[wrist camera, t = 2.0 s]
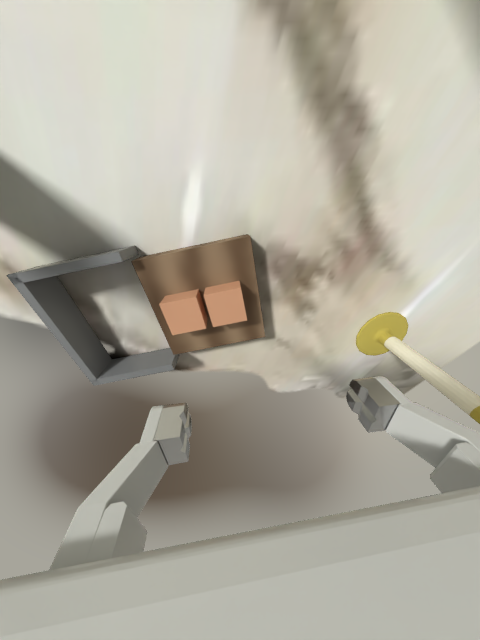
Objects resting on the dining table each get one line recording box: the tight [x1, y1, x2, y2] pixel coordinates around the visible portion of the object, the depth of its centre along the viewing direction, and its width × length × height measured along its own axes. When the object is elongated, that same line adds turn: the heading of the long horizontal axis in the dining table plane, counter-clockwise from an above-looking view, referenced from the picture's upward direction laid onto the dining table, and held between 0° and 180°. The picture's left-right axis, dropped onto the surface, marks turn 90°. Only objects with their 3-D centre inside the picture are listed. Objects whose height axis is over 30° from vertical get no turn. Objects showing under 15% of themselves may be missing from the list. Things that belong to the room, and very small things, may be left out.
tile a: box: [204, 281, 247, 327], centre depth 28 cm, size 5×5×3 cm
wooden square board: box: [131, 234, 265, 355], centre depth 30 cm, size 16×16×3 cm
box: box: [6, 246, 179, 385], centre depth 30 cm, size 14×19×5 cm
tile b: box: [159, 289, 208, 335], centre depth 28 cm, size 5×5×3 cm
